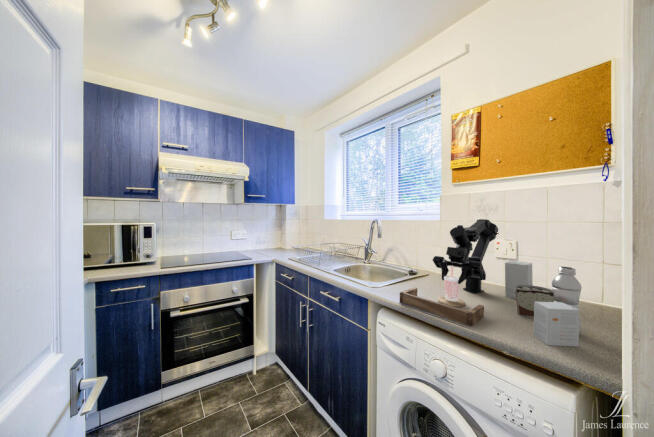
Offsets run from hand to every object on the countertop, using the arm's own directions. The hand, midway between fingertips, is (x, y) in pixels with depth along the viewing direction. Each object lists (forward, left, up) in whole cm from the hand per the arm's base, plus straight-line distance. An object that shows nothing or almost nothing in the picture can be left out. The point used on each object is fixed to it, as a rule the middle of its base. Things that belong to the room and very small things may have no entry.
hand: (450, 281), depth 98 cm
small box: (-4, +33, -9) cm, 34 cm away
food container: (-19, +19, -9) cm, 28 cm away
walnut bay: (+8, +3, -9) cm, 12 cm away
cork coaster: (-1, 0, -9) cm, 9 cm away
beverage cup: (-1, 0, -8) cm, 8 cm away
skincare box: (-33, +7, -9) cm, 34 cm away
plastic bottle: (-14, +31, -9) cm, 35 cm away
